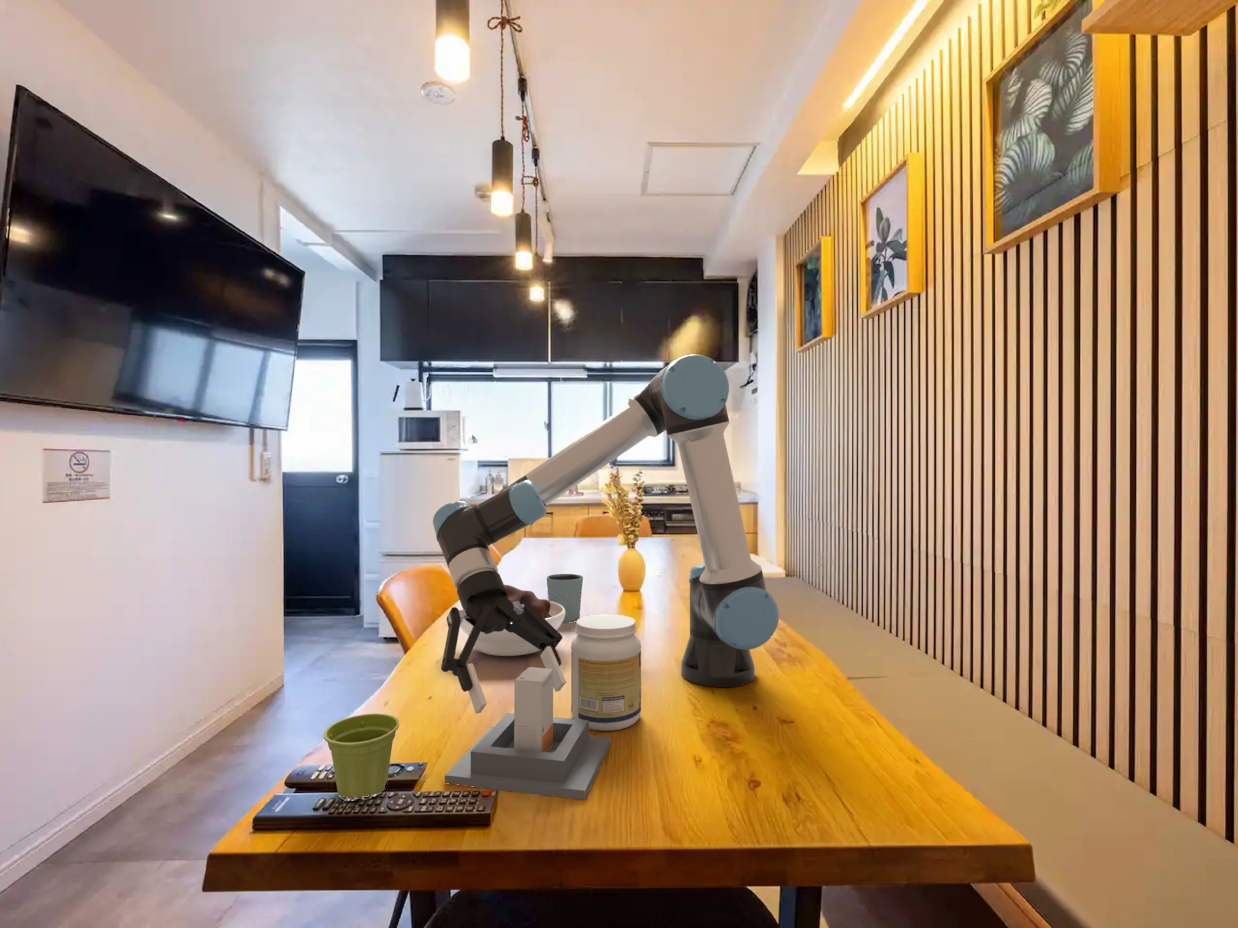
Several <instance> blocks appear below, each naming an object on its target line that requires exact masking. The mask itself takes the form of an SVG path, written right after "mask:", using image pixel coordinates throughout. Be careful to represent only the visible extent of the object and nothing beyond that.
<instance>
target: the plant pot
mask: <svg viewBox="0 0 1238 928" xmlns="http://www.w3.org/2000/svg"><path fill="white" fill-rule="evenodd" d="M399 727H400V720H399V719H398V718H397V717H395V716H394V715H390V714H388V713H375V712H374V713H364V714H360V715H353V716H348V717H346V718H343V719H341V720H338V721H336V722H334V723H332V724H331V725H330V726H328V727H327V728H326V729H325V730H324V732H323V739H324V741H326V742H327V745H328V749H329V750H330V751H331V752H330V753H331V757H332V764H333V770H334V772H333V773H334V776H335V783H336V789H337V796H338V795H340V796H346V797H362V796H368V795H373V794H377V793H380V792H382V791H385V790H386V788H385V785H386V782H387V779H388V780H389V772H390V762H391V758H392V757H391V756H392V750H393V749H392V748H393V743H394V739H395V737H396V731H398V729H399ZM387 783H388V782H387ZM384 789H385V790H384ZM382 793H383V792H382Z"/></svg>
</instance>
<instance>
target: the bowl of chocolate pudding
mask: <svg viewBox="0 0 1238 928" xmlns="http://www.w3.org/2000/svg"><path fill="white" fill-rule="evenodd" d="M504 586H505V589H506V593H507V597H508V599H509V600H510V601H511V602H515V601H519V600H520V599H521V597H523V596H524V597H526V598H527V599H528V601H529V603H530V605H531V606H532V607H533V608H534V609H535V610H536V611H537V612H538V613H539V614H540V615H541V616H542V617H543V618H544V619H545V620H546V621H547V622H548V623H549V624H550V625H551V626H552V627H553V628H555V629H556V630H557V631H558V629H559V628H560V627H561V625H562V624H563V623H562V622H563V620H564V618H565V613H566V611H565V609H564V607H563V606H562V605H560V604H558V603H555V602H552V601H548V599H545V598H543V599H542V598H540V599H539V598H538V597H537V596H536V595H535V593H534V592H533V591H532V590H522V589H519V588H517V587H515V586H512V585H510V584H504ZM460 610H464V609H463V608H461V609H460ZM513 612H515V613H516V611H514V610H513ZM519 616H520V614H519ZM521 619H522V617H521ZM522 620H523V619H522ZM523 621H524V620H523ZM509 623H510V624H512V623H513V621H512V620H511V619H510V622H509ZM460 628H461V630H462V631H463V632H464V633H465V635H467V636H468V637H469V635H470V633H471V630H472V628H473V625H471V624H470V623H469V622H467V621H466V620H465V619H463V621H462V623H461V624H460ZM473 649H475V650H477V651H478V652H480V653H482V654H485V655H489V656H496V657H517V656H522V655H523V656H525V655H529V654H533V653H534V654H535V653H537V652H540V651H541V650H539V649H538V648H536V647H535V646H533V645H532V644H530V643H529V642H527V641H526V640H524V639H523V638H521V637H519V636H518V635H516V634H515V633H513V632H512V633H510V632H508V631H507V630H505V629H504V630H503V631H500V632H495V631H494V632H492V633H489V634H485V633H483V632H480V634H479V636H478V638H477V641H476V643H475V645H474V647H473Z"/></svg>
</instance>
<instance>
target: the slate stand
mask: <svg viewBox="0 0 1238 928" xmlns="http://www.w3.org/2000/svg"><path fill="white" fill-rule="evenodd" d="M589 731H590V729H589V720H581V719H574V718H568V717H557V716H556V717H555V716H553V747H552V748H551V750H550V751H549V752H540V751H530V750H520V749H514V713H512V712H511V713H508V712H506V713H505V715H503V717H502V718H501V719H500V720H499V721H498V722H496V724H495V725H494V726H490V727H489V728H488V729H487V730H486V731H485V732H484V733H483V734H482V735H481V737H480V738H479V739H478V740H477V741H476V742H475V743H474V744H473V745H471V747H470V748H469V749H468V750H467V751H466V752H465V753H464V754H463V755H462V756H461V757H460V759H458V761H456V763H455V764H454V765H453V766H452V767H451V768H449V770H448V771H447V772H446V773H445V774H444V784H445V783H449V784H448V785H451V784H459V785H458V786H460V785H467V786H466V787H469V786H474V787H473V788H477V787H482V788H481V789H486V788H488V789H487V790H495V789H498V790H497V791H506V792H515V793H523V794H531V795H541V796H547V797H548V796H549V797H559V798H567V799H576V800H582V801H584V800H586V798H587V797H588V794H589V792H590V791H591V788H592V786H593V783H594V782H595V780H596V778H597V775H598V774H599V771H600V769H601V767H602V764H603V762H604V761H605V759H606V757H607V755H608V753H609V750H610V748H611V745H612V744H611V742H612V740H611V739H612V737H607V736H606V737H605V736H597V735H595V736H594V735H589V733H590V732H589Z"/></svg>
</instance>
